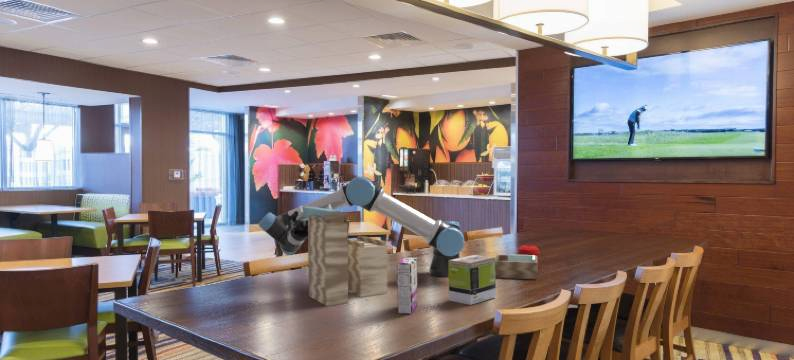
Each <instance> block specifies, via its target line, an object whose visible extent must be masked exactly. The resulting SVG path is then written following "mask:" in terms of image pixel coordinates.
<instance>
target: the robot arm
mask: <svg viewBox="0 0 794 360" xmlns="http://www.w3.org/2000/svg"><path fill="white" fill-rule="evenodd" d="M353 206H357V207H360V208H362V209H364V210H365V211H368V212H369V213H370V212H376V213H378V214H380V215H382V216H384V217H385V218H388V219H389V220H391V221H393V222H394V223H396V224H397V225H400V226H401V227H403V228H405V229H407V230H409V231H411V232H412V233H414V234H415V235H417V236H419V237H422V238H423V239H425V243H426V244H427V245H429V246H430V247H432V249H433V250H432V253H433V255H432V256H433V257H432V260H431V262H430V266H429V275H431V276H436V277H449V269H448V260H452V259H457V258H461V255H460V253H461V252H462V251H463V249H464V246H465V237H464V234H463V232H462V231H461V230H460V229H461V227H460V223H459V222H458V221H444V220H442V219H438V220H435V219H432V218H431V217H430V216H427V215H425V214H424V213H422V212H420V211H419V210H417V209H415V208H413V207H412V206H409V205H408V204H406V203H404V202H402V201H401V200H399V199H397V198H395V197H394V196H391V195H389V193H386V192H385V188H384V187H383V186H381V185H380V184H377V183H375V181H372V180H371V179H370V178H368V177H366V176H355V177H353V178H352V179H350V180H349V182H348V183H347V184H345V185H342V186H341V187H340V189H339V190H336V191H333V192H331V193H329V194H327V195H324V196H322V197H319V198H317V199H315V200H313V201H310V202H308V203H305V204H303V205H299V206H298V207H296V208H293V209H291V210H289V211H287V212H284V213H282V214H278V215H277V216H276V215H275V214H273V213H272V212H268V213H266V214H265V215H264V216H263V217H262V218H261V220H260V221H259V223H258V226H259V227H260V229H261V230H262V231H263V232H265V233H266V234H267V235H268V236H270V237H271V238H272V239H274V240H275V241H276V242H277V243H278V244H279V245H280V250H281V252H282V253H283V254H285V255H290V256H291V255H294V254H295V253H297V252H298V250H300V248H301V247H302V245H303V243H304V242H305V241H306V239H308V220H309V219H308V218H303V217H302V213H303V208H302V207H318V208H325V209H331V210H339V209H342V208H344V207H353Z"/></svg>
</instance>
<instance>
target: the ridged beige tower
mask: <svg viewBox="0 0 794 360" xmlns="http://www.w3.org/2000/svg"><path fill="white" fill-rule="evenodd" d="M348 293H351V294H353V295H355V296H356V297H359V298H364V297H372V296H379V295H386V294H388V245H387V242H386V240H381V239H377V238H372V237H368V236H364V235H361V234H360V235H357V238H356V239H349V238H348Z"/></svg>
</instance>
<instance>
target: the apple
mask: <svg viewBox="0 0 794 360" xmlns="http://www.w3.org/2000/svg"><path fill="white" fill-rule="evenodd" d="M517 252H518V254H517V255H535V256H537V259H538V260H539V258H540V254H541V252H540V249H539V248H538V247H537V246H535V245H531V244H529V243H528V244H527V245H521V246H520V247H519V248H518V251H517Z"/></svg>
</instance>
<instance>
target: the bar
mask: <svg viewBox="0 0 794 360" xmlns="http://www.w3.org/2000/svg"><path fill="white" fill-rule="evenodd" d="M302 208H303V213H302V217H303V218H308V219H309V216H316V217H322V218H325V215H328V214H341V210H339V209H337V210H331V209H325V208H318V207H302Z"/></svg>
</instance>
